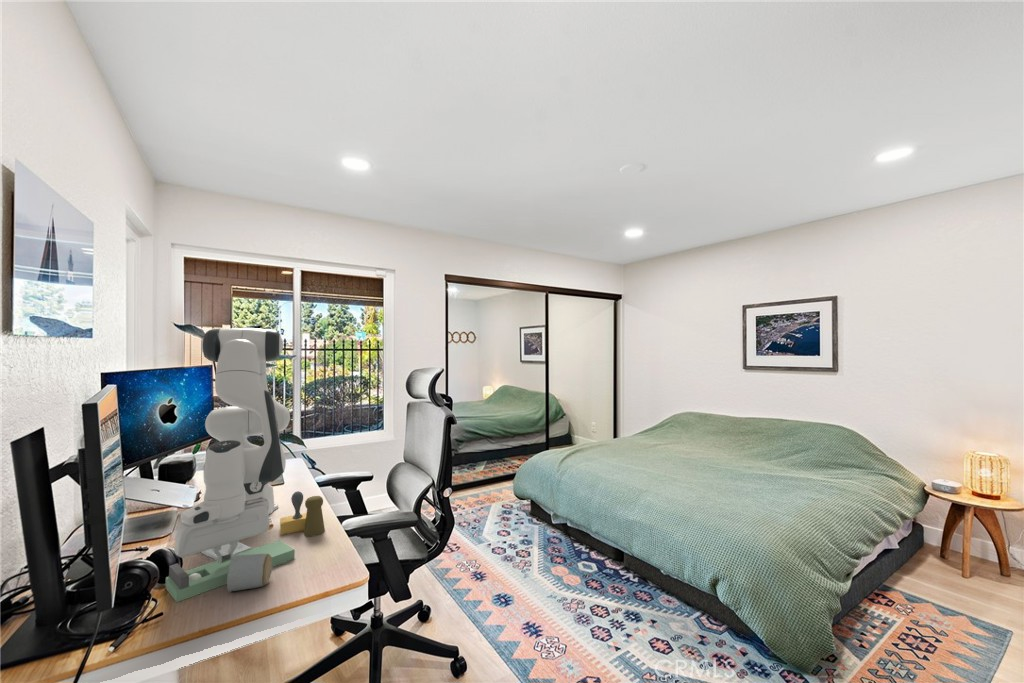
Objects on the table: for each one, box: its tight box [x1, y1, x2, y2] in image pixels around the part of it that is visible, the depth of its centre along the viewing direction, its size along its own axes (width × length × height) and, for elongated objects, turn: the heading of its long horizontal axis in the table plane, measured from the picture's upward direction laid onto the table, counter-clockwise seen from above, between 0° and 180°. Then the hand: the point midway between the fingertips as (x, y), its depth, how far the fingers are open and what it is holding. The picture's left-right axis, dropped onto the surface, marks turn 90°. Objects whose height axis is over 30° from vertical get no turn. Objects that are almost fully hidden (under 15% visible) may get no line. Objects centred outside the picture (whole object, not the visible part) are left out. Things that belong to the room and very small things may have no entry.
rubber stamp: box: [279, 491, 307, 536], centre depth 138 cm, size 10×6×12 cm, turn 119°
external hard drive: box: [200, 541, 253, 561], centre depth 122 cm, size 2×8×12 cm
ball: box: [189, 573, 202, 582], centre depth 103 cm, size 3×3×3 cm
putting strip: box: [165, 539, 296, 603], centre depth 110 cm, size 10×26×5 cm, turn 140°
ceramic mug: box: [226, 554, 273, 593], centre depth 104 cm, size 11×8×8 cm
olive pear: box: [303, 495, 326, 537], centre depth 135 cm, size 6×6×11 cm
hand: (225, 561), depth 108 cm, fingers closed
